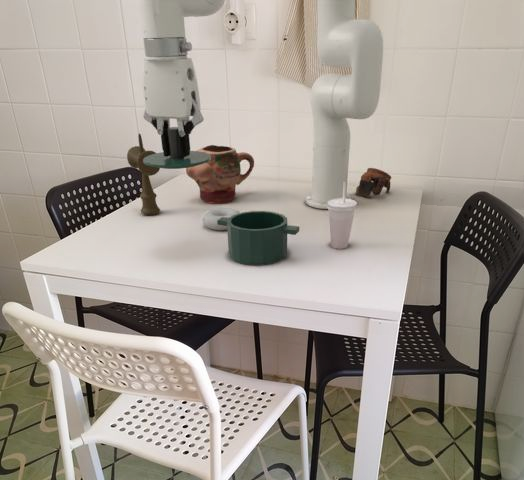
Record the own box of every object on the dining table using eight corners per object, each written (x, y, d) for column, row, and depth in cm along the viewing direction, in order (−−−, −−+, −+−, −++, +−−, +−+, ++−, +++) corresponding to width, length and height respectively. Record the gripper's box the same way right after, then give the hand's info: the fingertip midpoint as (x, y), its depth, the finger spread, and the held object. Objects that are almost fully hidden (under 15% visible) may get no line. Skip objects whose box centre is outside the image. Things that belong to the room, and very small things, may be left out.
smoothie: (335, 252, 109) (339, 187, 102) (319, 243, 114) (322, 180, 106) (359, 247, 112) (365, 182, 104) (342, 238, 116) (347, 176, 109)
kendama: (146, 219, 131) (134, 137, 120) (133, 210, 138) (121, 132, 127) (168, 215, 133) (158, 134, 123) (154, 206, 140) (143, 129, 129)
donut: (197, 231, 123) (237, 232, 121) (196, 217, 121) (236, 218, 119) (209, 218, 131) (247, 219, 129) (208, 205, 129) (246, 206, 127)
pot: (234, 239, 118) (232, 207, 114) (306, 249, 111) (307, 215, 107) (208, 258, 108) (205, 224, 104) (286, 271, 102) (286, 235, 98)
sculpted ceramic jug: (244, 188, 154) (242, 140, 147) (263, 198, 145) (262, 147, 138) (182, 198, 146) (177, 148, 139) (199, 209, 137) (194, 156, 130)
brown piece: (348, 193, 149) (360, 166, 148) (375, 206, 152) (387, 179, 150) (364, 193, 138) (377, 163, 136) (392, 207, 141) (405, 178, 139)
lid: (167, 154, 110) (163, 121, 106) (222, 158, 105) (220, 124, 102) (130, 168, 100) (124, 132, 96) (189, 173, 95) (186, 136, 91)
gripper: (214, 48, 92) (221, 154, 102) (140, 49, 97) (153, 149, 107) (194, 50, 86) (203, 162, 96) (116, 51, 92) (132, 157, 102)
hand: (176, 154), depth 102 cm, fingers closed on lid, 2 cm apart
